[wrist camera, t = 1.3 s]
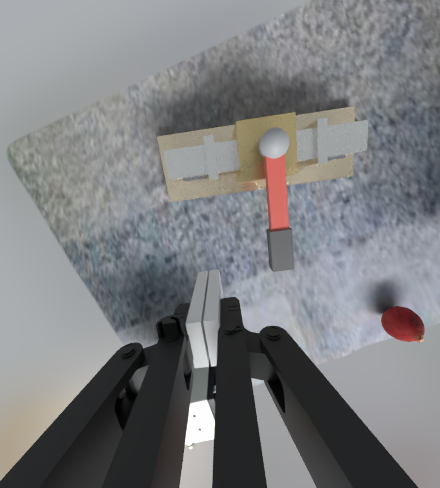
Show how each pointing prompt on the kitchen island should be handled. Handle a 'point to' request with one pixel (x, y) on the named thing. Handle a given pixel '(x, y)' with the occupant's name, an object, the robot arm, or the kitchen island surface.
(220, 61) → the kitchen island surface
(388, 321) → the onion
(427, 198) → the kitchen island surface
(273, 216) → the lever
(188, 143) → the valve pipe
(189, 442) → the ball valve
